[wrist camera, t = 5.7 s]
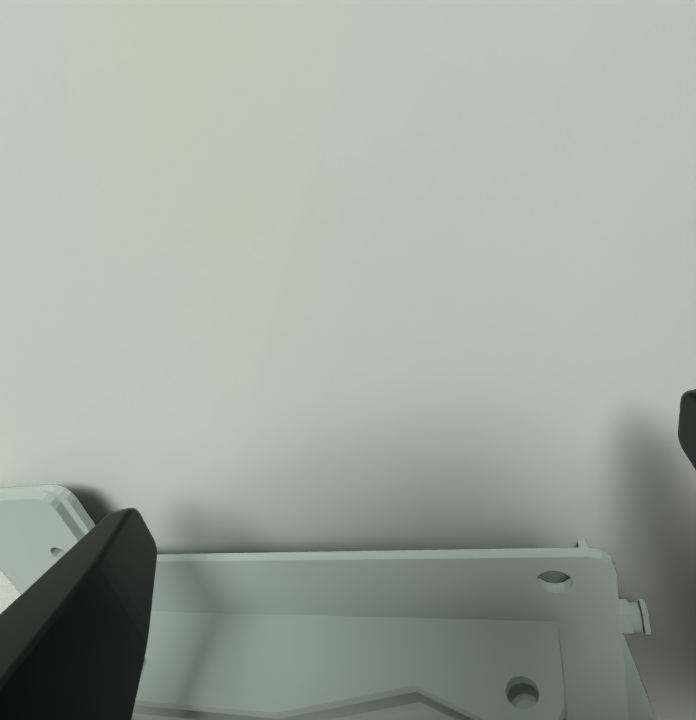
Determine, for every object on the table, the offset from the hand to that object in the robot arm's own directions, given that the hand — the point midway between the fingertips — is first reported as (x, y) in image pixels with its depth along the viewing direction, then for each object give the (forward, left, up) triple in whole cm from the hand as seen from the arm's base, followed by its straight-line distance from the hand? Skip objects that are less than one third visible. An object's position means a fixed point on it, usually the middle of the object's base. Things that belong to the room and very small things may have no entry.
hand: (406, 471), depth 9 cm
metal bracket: (+2, +7, -3) cm, 8 cm away
